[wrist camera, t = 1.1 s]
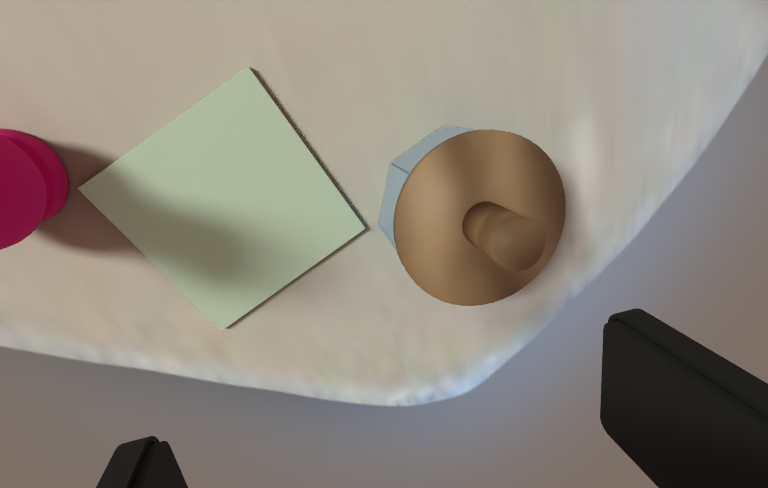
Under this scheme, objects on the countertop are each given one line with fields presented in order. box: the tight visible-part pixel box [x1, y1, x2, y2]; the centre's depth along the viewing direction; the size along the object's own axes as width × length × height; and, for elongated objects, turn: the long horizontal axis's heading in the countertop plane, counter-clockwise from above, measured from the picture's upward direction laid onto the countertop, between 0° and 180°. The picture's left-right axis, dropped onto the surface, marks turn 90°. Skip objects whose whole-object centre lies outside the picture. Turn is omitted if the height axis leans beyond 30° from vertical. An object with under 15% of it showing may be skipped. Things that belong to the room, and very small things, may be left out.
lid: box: [393, 130, 565, 306], centre depth 27 cm, size 13×13×6 cm
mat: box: [77, 67, 366, 331], centre depth 31 cm, size 14×14×1 cm
